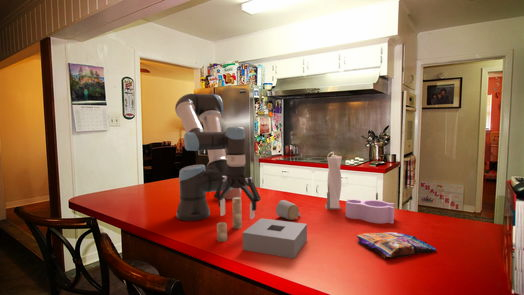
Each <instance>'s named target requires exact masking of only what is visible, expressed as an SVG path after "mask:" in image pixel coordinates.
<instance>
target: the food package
mask: <svg viewBox="0 0 524 295" xmlns="http://www.w3.org/2000/svg"><path fill="white" fill-rule="evenodd" d="M356 237H357V239H358V241H357V242H356V243H357V244H358V245H361V246H362V247H364V246H365V248H367V249H368V248H369V249H368V250H370V251H372V252H374V251H375V252H374V253H377V254H379V255H381V257H382V258H383V257H384V258H383V259H387V258H386V257H390V258H389V259H394V257H402V258H406V257H405V256H408V257H410V256H413V254H414V255H419V254H418V253H426V254H432V253H431V252H436V253H437V248H436V247H434V246H433V245H431V244H430V243H429V244H428V243H427V241H424V240H421V239H419V238H417V237H416V236H415V235H410V234H407V233H398V232H366V233H361V234H357V235H356ZM409 255H410V256H409Z"/></svg>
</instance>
